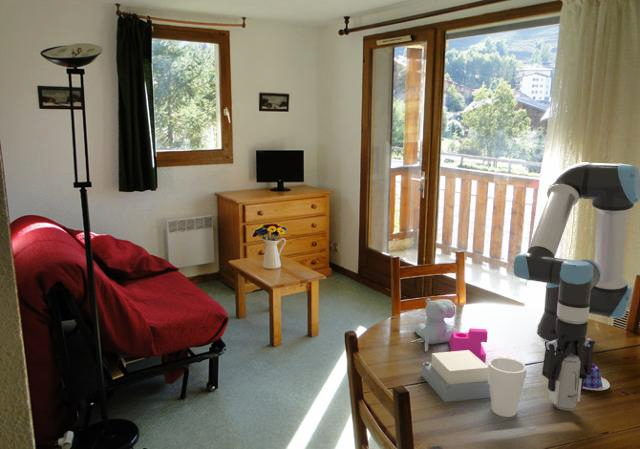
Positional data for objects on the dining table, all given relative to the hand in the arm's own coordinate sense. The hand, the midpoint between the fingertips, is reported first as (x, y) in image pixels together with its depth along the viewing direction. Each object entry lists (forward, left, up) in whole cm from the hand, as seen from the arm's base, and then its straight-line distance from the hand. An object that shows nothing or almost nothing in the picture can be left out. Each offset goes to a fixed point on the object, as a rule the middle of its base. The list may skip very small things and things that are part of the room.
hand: (564, 400), depth 140 cm
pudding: (-16, -11, -2) cm, 20 cm away
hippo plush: (+16, -49, -2) cm, 52 cm away
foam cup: (+17, -1, -2) cm, 17 cm away
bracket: (+10, -37, -2) cm, 38 cm away
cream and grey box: (+23, -16, -2) cm, 28 cm away
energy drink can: (0, 0, -2) cm, 2 cm away
